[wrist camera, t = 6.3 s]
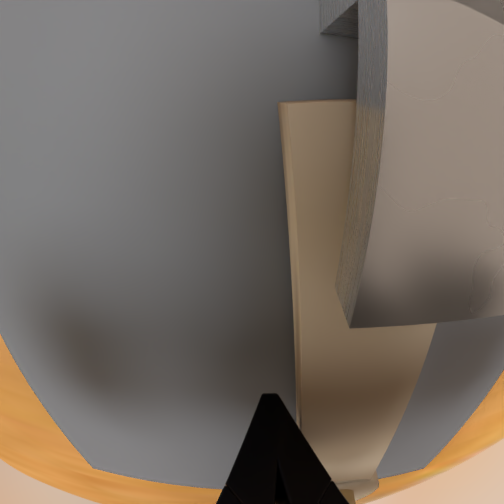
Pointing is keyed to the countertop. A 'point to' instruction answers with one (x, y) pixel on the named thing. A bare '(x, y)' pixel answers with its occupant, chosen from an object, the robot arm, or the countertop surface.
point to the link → (338, 308)
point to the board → (175, 231)
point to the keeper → (423, 161)
